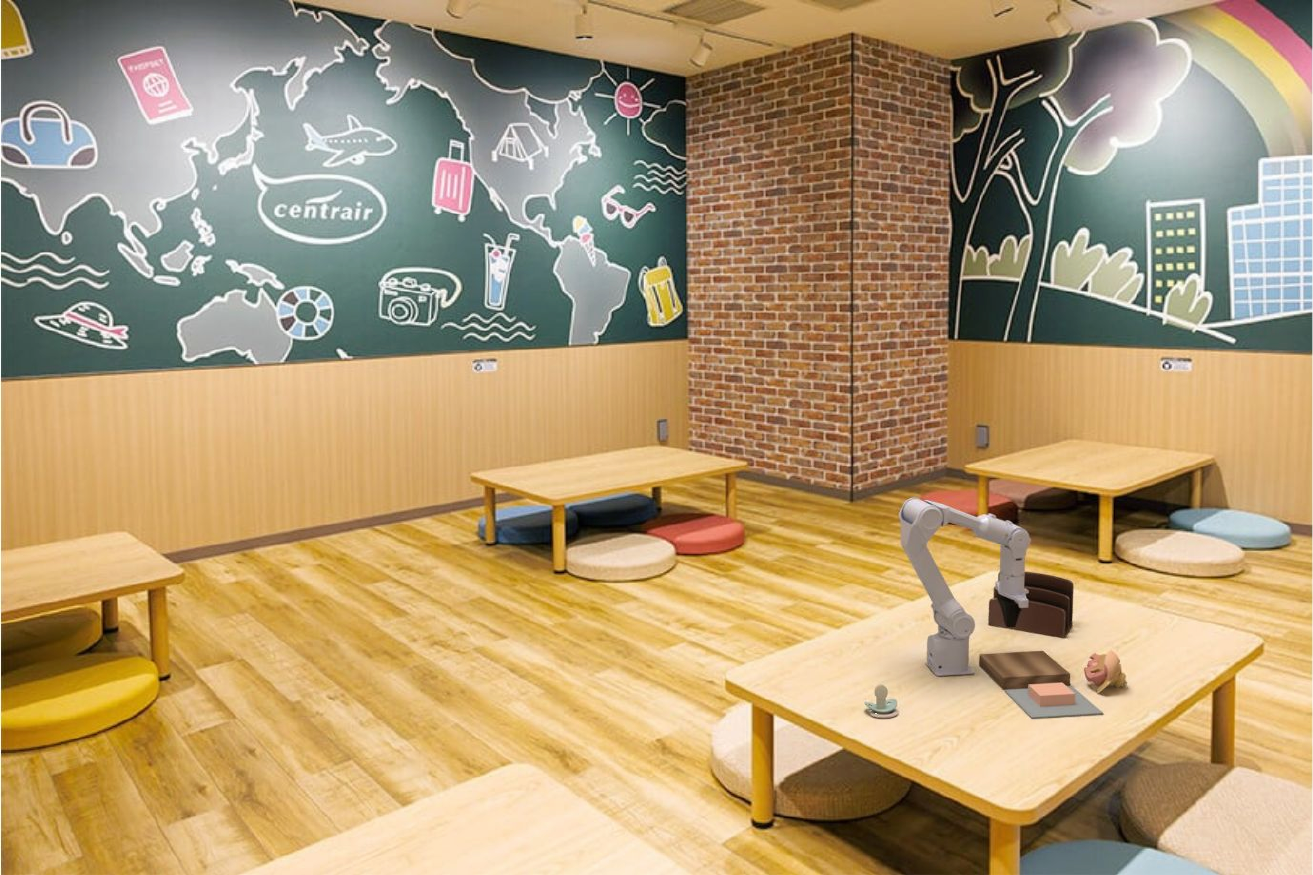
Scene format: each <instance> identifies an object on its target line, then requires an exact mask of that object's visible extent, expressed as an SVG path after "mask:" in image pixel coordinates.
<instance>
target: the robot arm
mask: <svg viewBox="0 0 1313 875" xmlns="http://www.w3.org/2000/svg"><path fill="white" fill-rule="evenodd" d="M898 518H899V522H900V545H901V547H902V550H903V552H904V554H906V557H907V558H908V560H909V562H910V563H911V566H912V567H913V569H914V571H915V573H916V575H917V577H918V579H919V580H920V582H921V584H922V586H923V588H924V590H925V591H926V593H927V595H928V597H929V599H930V601H931V602H932V603H931V605H930V607H931V609H932V611H933V620H934V622H935V623H936V625H937V630H938V631H937V633H935V634H930V635H929V636H928V637H927V641H926V661H925V664H926V666H927V667H928V668H929V669H930V670H931V671H932V673H933V674H934V675H935V676H936V677H943V676H946V677H947V676H962V675H964V676H965V675H974V674H975V671H974V670H973V669H972V668H971V667H970V666H969V655H970V654H969V652H970V650H969V649H970V647H969V646H970V636H972V634H973V633H974V631H975V628H976V622H975V619H974V617H972V615H970V614H968V613H967V612H966V610H965V609H964V607H963V606H962V605H961V603H959V601H957V599H956V597H955V596H954V594H953V593H952V591H951V589H950V587H949V585H948V583H947V582H946V580H945V577H943V574H942V572H941V570H940V569H939V566H938V565H937V563H936V562H935V559H934V557H933V556H932V554H931V552H930V551H929V549H928V547H927V544H928V543H929V541H930V540H931V539H932V537H933V536H934V535H935V534H936V532H937V531H938V530H939V528H940V527H946V526H947V524H949V523H950V524H954V525H956V526H960V527H964V528H966V529H969V530H972V531H973V534H974V535H975V537H977V538H980V539H983V540H985V541H988V542H991V543H995V544H996V545H1000V549H999V550H1000V553H999V557H1000V558H999V572H1000V578H999V581H998V580H997V581H995V583H994V585H995V586H994V587H995V589H997V590H998V593H999V594H1000V595H1002V596H999V597H997V600H998V602H999V604H1000V607H1001V609H1002V613H1003V618H1004V623H1005V626H1006V627H1015V626H1016V623H1017V620H1018V617H1019V614H1020V612H1021V610H1022V608H1028V599H1027V598H1026V594H1027V593H1029V591H1028V590H1027V589H1025V588H1024V576H1025V572H1026V555H1027V550H1028V548H1029V547H1030V545H1031V543H1032V538H1030V533H1029V531H1027V530H1026V529H1025V528H1024V527H1021V526H1018V525H1017V524H1014V523H1013V522H1012V521H1010V520H1003V519H1000V518H997V516H996V515H995V514H993V513H988V514H980V515H979V516H974V515H972V514H969V513H966V512H964V511H961V510H959V509H956V508H953V507H951V506H948V505H946V504H943V503H939V502H937V501H931V500H927V499H924V501H923V499H921V498H919V497H911V498H908V499H907V500H905V501H904V502H903V504H902V506H901V508H900V511H899V513H898Z"/></svg>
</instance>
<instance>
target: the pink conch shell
mask: <svg viewBox="0 0 1313 875" xmlns="http://www.w3.org/2000/svg"><path fill="white" fill-rule="evenodd" d="M1089 659H1090V660H1088V661H1087V664H1086V666H1085V667H1084V669H1083V671H1084V676H1085V679H1086V681H1088V682H1091V683H1093V684H1094V685H1095V686H1098V687H1097V689H1096V694H1099V693H1101V692H1102V691H1103V690H1104V689H1105V688H1107V687H1110V686H1113V688H1116V689H1118V688H1121V687H1125V686H1127V684H1128V681H1127V680H1126V677H1127V675H1126V674H1125V672H1123V670H1122V664H1121V659H1120V658H1119V656H1118V654H1117V653H1116V652H1115V651H1113V650H1112V649H1111V650H1109V651H1108V652H1107V653H1106V654H1104V653H1103V654H1097V653H1096V652H1095V653H1092V654H1091V655H1090V656H1089Z"/></svg>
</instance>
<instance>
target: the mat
mask: <svg viewBox="0 0 1313 875" xmlns="http://www.w3.org/2000/svg"><path fill="white" fill-rule="evenodd" d="M1067 687H1068V688H1069V689H1070V690H1072V691H1073V692H1074V693H1075V704H1072V705H1055V706H1039V705H1038V704H1037V703H1036V702H1035V701H1034V700H1033V699H1032V698H1031V697H1029V696H1028V688H1025V689H1008V690H1004V692H1005V694H1007V695H1008V697H1010V699H1012V701H1013V702H1014V703H1016V705H1017V706H1019V708H1020V709H1021V710H1022V711H1023V712H1024V713H1025V714H1027V716H1028V717H1029V718H1030V719H1032V720H1037V719H1038V720H1039V719H1054V718H1065V717H1066V718H1068V717H1069V718H1071V717H1082V716H1083V717H1086V716H1088V717H1090V716H1103V715H1104V712H1103V711H1102V710H1100V708H1098V706H1096V705H1095V704H1094V703H1092V701H1090V700H1089V699H1088V698H1087V697H1086V696H1084V695H1083V693H1081V692H1080V691H1079V690H1077V689H1076V688H1075V687H1074V686H1072V685H1070V686H1067Z"/></svg>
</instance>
